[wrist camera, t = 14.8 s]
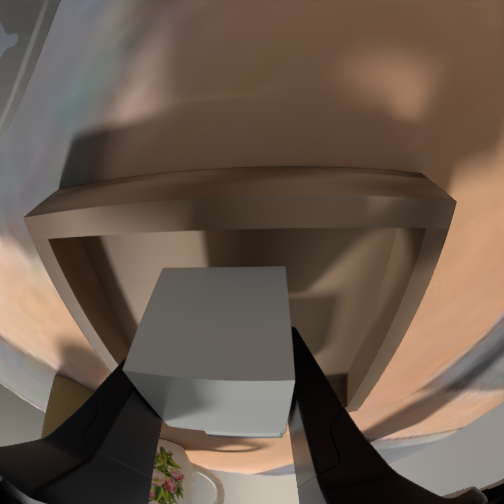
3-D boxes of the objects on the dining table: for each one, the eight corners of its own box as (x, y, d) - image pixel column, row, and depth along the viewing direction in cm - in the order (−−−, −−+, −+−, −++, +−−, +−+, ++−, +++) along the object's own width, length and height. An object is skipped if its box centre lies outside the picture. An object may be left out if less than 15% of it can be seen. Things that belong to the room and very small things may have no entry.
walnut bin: (421, 173, 9) (456, 201, 7) (351, 381, 17) (357, 410, 15) (57, 189, 10) (23, 217, 8) (148, 379, 18) (141, 407, 16)
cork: (46, 375, 22) (17, 454, 13) (70, 375, 20) (38, 469, 11) (83, 403, 25) (61, 477, 16) (112, 405, 23) (90, 491, 14)
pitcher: (218, 460, 36) (213, 529, 24) (113, 434, 33) (98, 503, 22) (237, 449, 30) (232, 537, 18) (105, 417, 27) (84, 505, 16)
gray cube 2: (285, 266, 9) (295, 380, 5) (281, 342, 11) (285, 432, 8) (162, 267, 9) (122, 369, 6) (186, 341, 11) (168, 426, 8)
